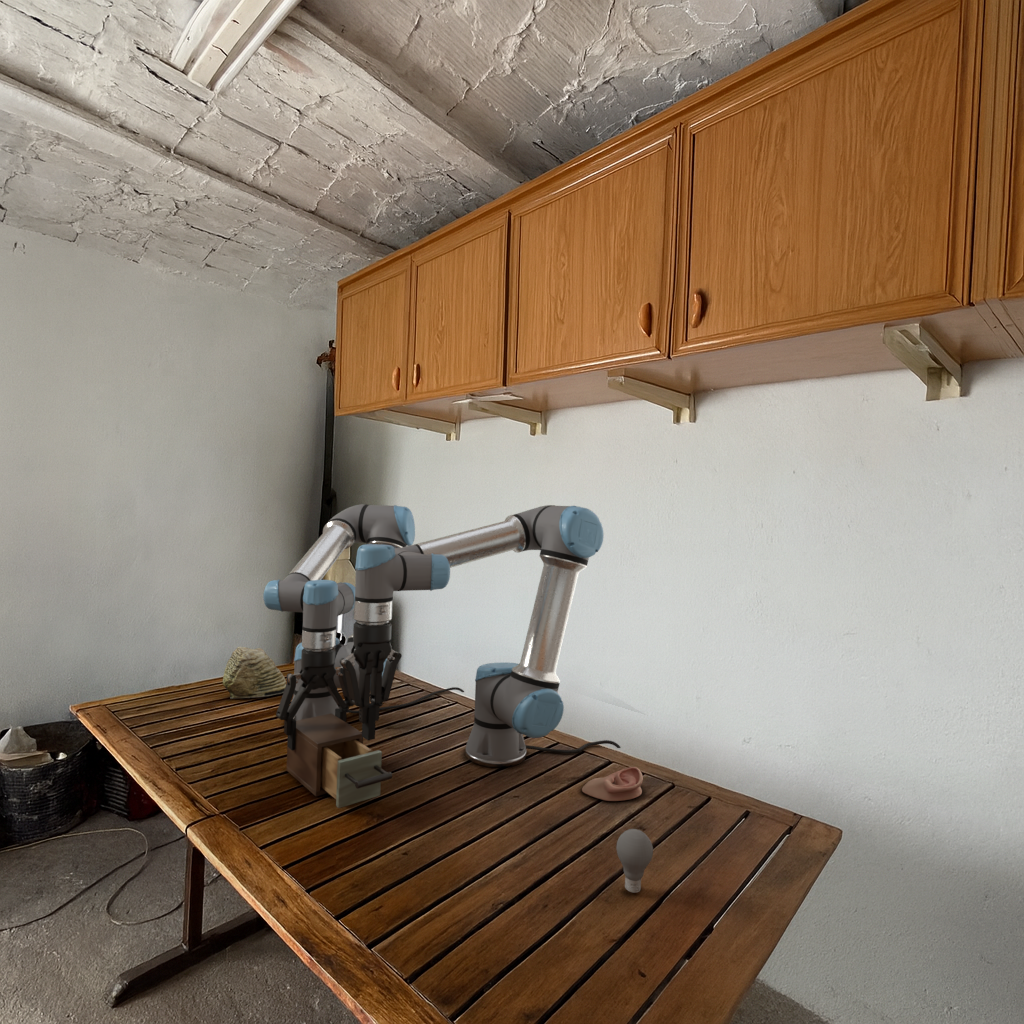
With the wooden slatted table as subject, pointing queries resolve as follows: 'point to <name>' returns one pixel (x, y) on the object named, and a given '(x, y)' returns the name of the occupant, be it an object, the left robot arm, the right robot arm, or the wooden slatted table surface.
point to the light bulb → (634, 857)
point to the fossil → (252, 674)
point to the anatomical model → (616, 785)
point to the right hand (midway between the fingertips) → (368, 737)
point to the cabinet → (316, 747)
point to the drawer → (351, 772)
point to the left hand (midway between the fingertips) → (315, 742)
